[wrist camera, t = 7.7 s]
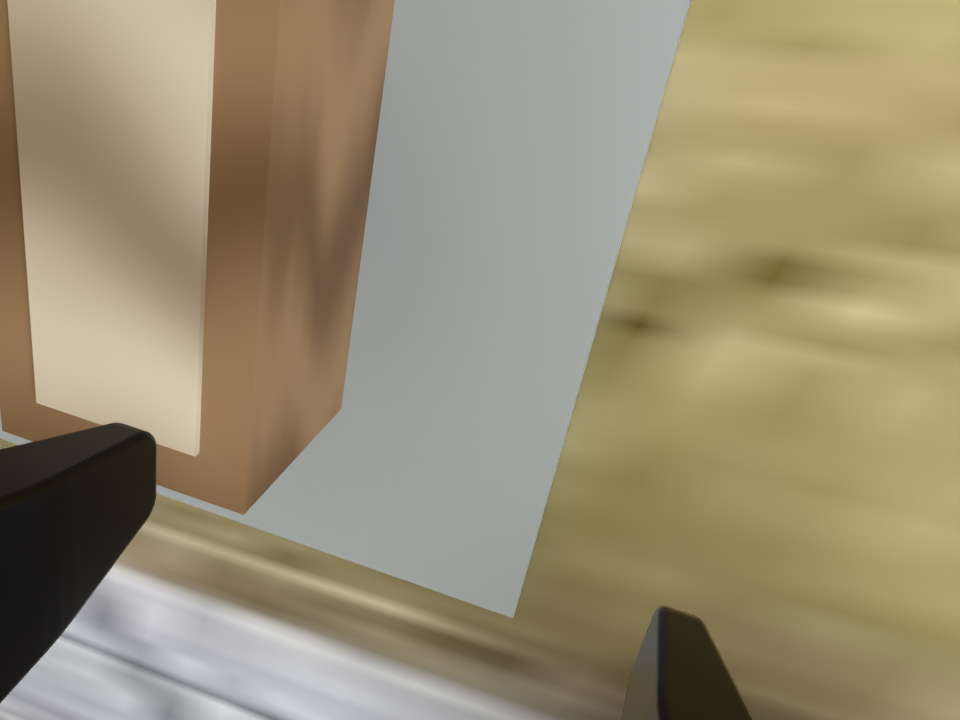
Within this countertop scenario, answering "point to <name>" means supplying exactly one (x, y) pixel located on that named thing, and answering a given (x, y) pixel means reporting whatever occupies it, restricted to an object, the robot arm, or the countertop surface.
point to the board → (477, 285)
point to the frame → (185, 223)
